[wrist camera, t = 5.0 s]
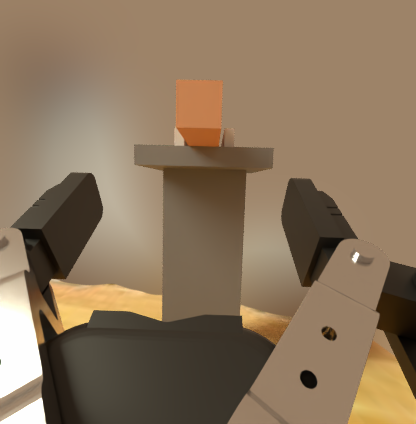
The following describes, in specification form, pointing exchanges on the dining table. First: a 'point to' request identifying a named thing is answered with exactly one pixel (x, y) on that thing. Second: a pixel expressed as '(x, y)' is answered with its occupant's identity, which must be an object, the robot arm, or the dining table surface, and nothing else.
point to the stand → (202, 222)
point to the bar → (199, 111)
